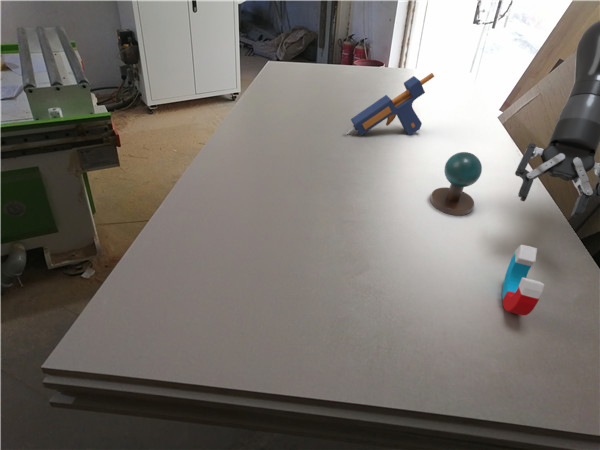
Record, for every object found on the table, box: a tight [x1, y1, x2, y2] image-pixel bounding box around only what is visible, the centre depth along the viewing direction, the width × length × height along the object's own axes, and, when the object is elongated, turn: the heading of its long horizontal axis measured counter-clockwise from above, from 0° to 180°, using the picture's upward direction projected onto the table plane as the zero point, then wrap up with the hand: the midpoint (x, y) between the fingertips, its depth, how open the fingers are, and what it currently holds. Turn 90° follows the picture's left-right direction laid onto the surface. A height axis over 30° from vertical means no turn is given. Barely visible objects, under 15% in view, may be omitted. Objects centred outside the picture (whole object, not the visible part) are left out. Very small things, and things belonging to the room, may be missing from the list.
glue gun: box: [345, 72, 435, 136], centre depth 126 cm, size 6×31×15 cm
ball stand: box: [429, 151, 483, 216], centre depth 95 cm, size 10×10×14 cm
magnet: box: [501, 244, 545, 316], centre depth 71 cm, size 12×3×10 cm, turn 161°
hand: (548, 207), depth 73 cm, fingers open, 8 cm apart
